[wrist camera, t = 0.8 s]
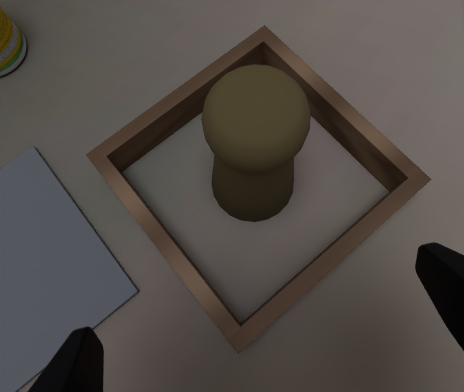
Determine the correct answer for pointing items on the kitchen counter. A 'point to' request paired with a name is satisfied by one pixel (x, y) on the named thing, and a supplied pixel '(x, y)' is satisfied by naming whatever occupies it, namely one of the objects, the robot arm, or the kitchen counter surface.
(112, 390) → the kitchen counter surface
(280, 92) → the cork
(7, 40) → the supplement bottle
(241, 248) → the kitchen counter surface
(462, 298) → the robot arm
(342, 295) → the kitchen counter surface
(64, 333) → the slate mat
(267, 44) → the walnut frame
